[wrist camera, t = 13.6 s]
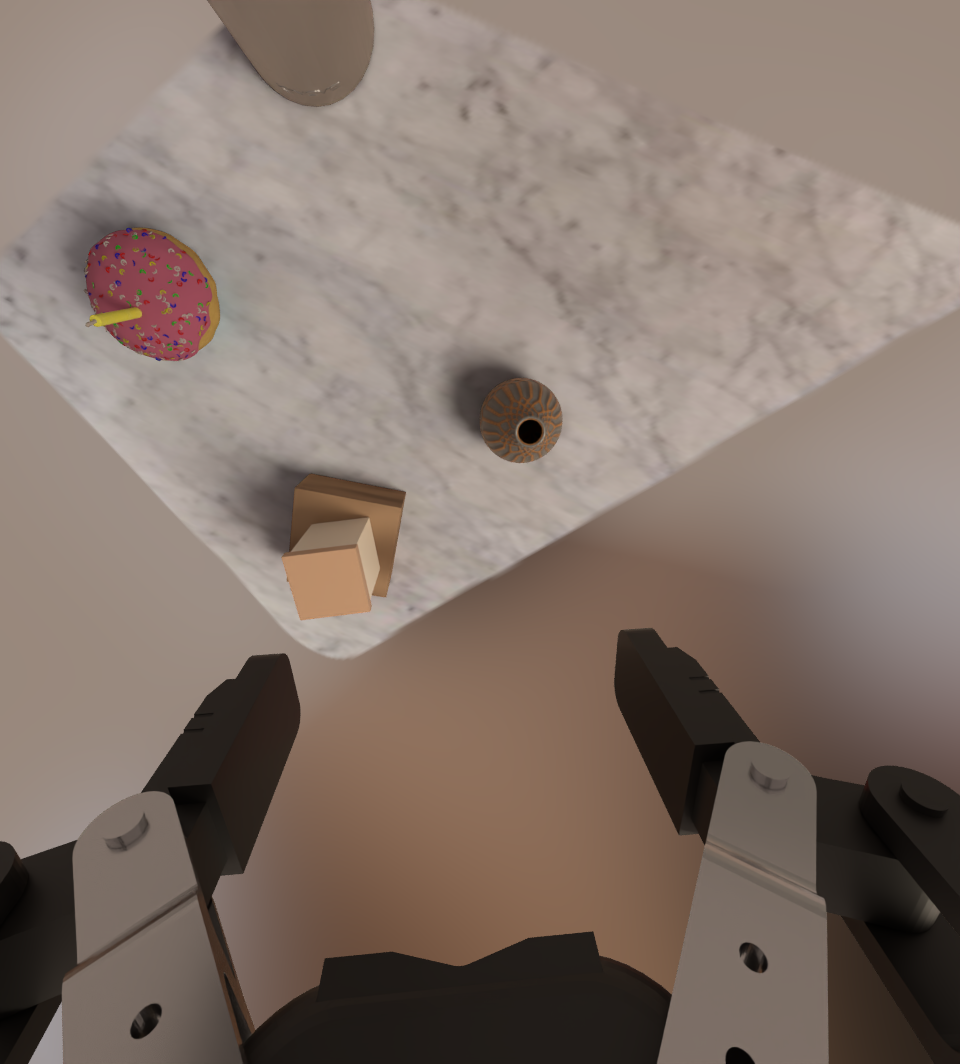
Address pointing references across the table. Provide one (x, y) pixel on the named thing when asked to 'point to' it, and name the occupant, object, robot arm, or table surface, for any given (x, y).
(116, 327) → the cupcake
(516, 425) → the vase
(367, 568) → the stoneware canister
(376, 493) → the brown wooden block
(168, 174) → the table surface
